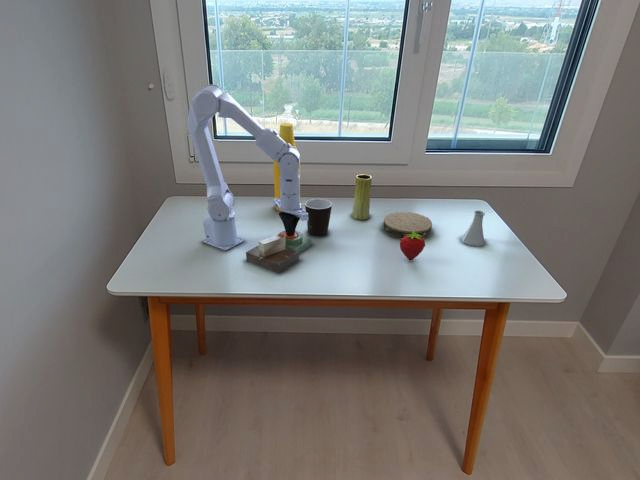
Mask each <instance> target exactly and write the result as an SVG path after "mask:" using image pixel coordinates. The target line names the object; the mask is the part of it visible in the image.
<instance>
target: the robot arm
mask: <svg viewBox="0 0 640 480" xmlns="http://www.w3.org/2000/svg"><path fill="white" fill-rule="evenodd" d="M189 105H190V106H189V112H188V116H187V120H186V126H187V129H188V133H189V135H190V139H191V142H192V145H193V148H194V152H195V155H196V157H197V160H198V163H199V167H200V170H201V174H202V176H203V179H204V182H205V186H206V200H207V214H206V215H205V216H204V218H203V228H204V236H205V239H204V240H203V243H204V244H207V245H209V246H211V247H215V248H217V249H220V250H223V251H228V250H230V249H232V248H234V247H235V246H237V245H240V244H241V243H243V242H244V240H243V239H241V238H239V237H238V235H237V223H236V214H235V211H234V210H233V207H234V206H235V202H236V199H235V195H234V193H232V191H231V190H230V188H229V186H228V184H227V183H226V181H225V180H224V176H223V173H222V170H221V166H220V163H219V160H218V157H217V153H216V150H215V146H214V143H213V139H212V136H211V132H210V128H209V124H210V122H211V121H212V119H213V117H214V116H215V115H216V114H217V113H218V115H217V118H222V119H231V120H232V121H234V122H235V123H236V124H237V125H239V126H240V127H241V128H242V129H244V131H246V132H247V133H249V134H250V135H251V136H252V137H254V138H255V143H256V146H257V147H258V148H259V149H260V150H261V151H262V152H264V153H265V154H266V155H267V156H268V157H269V158H270V159H272V160H273V162H274V161H277V162H278V167H279V169H280V199H279V198H277V199H275V198H274V199H272V205H273V206H274V207H275V206H278V207H279V209H280V210H281V211H282V212H281V211H279V212H278V217H279V218H280V220H281V222H282V224H283V227H284V231H286V234H287V235H288V236H292V235H294V233H295V230H296V231H297V226H298V223H299V221H302V222H304V221H307V220H308V213H307V212H306V210H305V208H303V203H301V175H300V176H299V172H300V173H301V170H300V171H299V166H300V167H301V154H300V152H299V149H298V148H297V149H296V148H295V147H293V146H291V145H290V144H289V143H288V144H287V143H286V142H285V141H284V140H283V139H281V138H280V137H279V131H277V130H276V129H272V128H271V127H263V126H262V125H261V124H260V123H259V122H257V121H256V119H255V118H254V117H252V115H250V114H249V113H248V112H247V110H245V109H244V108H243V106H241V105H240V104H239V102H237V101H236V100H235V98H233V97H232V96H231V95H230V94H229V93H228V92H227V91H224V90H223V88H222V87H220V86H219V85H217V84H215V83H214V84H212V83H211V84H208V85H205V86H204V87H203V89H201V90H198V91H197V92H196V93H195V95H193V97H192V98H191V100H190V104H189Z"/></svg>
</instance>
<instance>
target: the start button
mask: <svg viewBox="0 0 640 480" xmlns="http://www.w3.org/2000/svg"><path fill="white" fill-rule="evenodd" d="M283 236H284V237H285V238H287V239H293V238H297V237H298V234H297V233H294V235H292V236H288V235H287V234H286V232H285V233H284V234H283Z"/></svg>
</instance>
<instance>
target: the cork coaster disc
mask: <svg viewBox="0 0 640 480" xmlns="http://www.w3.org/2000/svg"><path fill="white" fill-rule="evenodd" d="M382 226H383V227H382V229H383V231H384V232H385V234H387V235H389V236H390V237H393V238H395V239H399V240H401V239H402V238H403V237H405V236H408V235H405V234H412V232H413V231H414V233H416V232H417V234H419V235H421V236H424V237H422V238H423V239H424V240H425V239H426V238H428V237H430V235H431V233H432V228H433V223H432V220H431V219H430V218H429V217H427V216H425V215H423V214H420V213H415V212H409V211H395V212H392V213H388V214H387V215H385V217H384V218H383V225H382ZM415 229H416V231H415Z"/></svg>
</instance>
